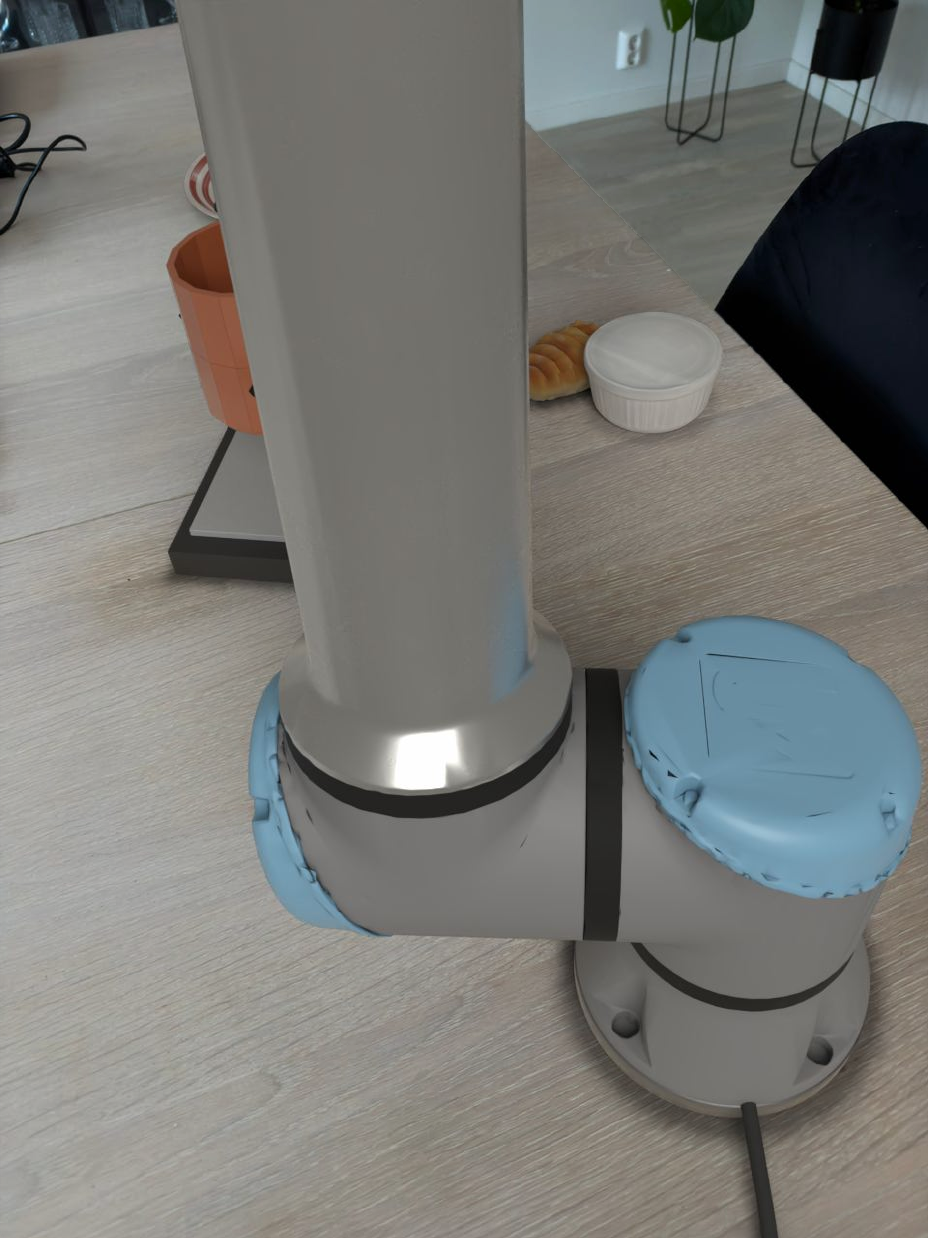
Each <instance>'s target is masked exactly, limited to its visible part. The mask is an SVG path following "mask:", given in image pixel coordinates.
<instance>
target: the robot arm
mask: <svg viewBox="0 0 928 1238" xmlns="http://www.w3.org/2000/svg"><path fill="white" fill-rule="evenodd" d="M173 4H174V7H175V13H176V18H177V22H178V27H179V32H180V33H179V34H180V37H181V42H182V47H183V51H184V56H185V61H186V66H187V71H188V75H189V81H190V86H191V91H192V95H193V99H194V104H195V110H196V115H197V119H198V124H199V128H200V129H199V130H200V134H201V139H202V144H203V149H204V151H205V154H206V159H207V164H208V169H209V173H210V178H211V183H212V188H213V193H214V198H215V203H214V210H215V212H217V213H218V217H219V219H218V221H219V222H220V227H221V232H222V237H223V241H224V246H225V251H226V256H227V261H228V266H229V270H230V275H231V280H232V285H233V290H234V295H235V300H236V304H237V309H238V314H239V319H240V324H241V329H242V334H243V338H244V343H245V348H246V353H247V358H248V363H249V368H250V372H251V377H252V382H253V384H252V386H251V388H250V390H249V392H250V393H251V395H252V396H253V397H255V398H256V402H257V406H258V411H259V416H260V421H261V426H262V431H263V436H264V440H265V445H266V450H267V455H268V460H269V465H270V470H271V474H272V479H273V484H274V489H275V494H276V499H277V504H278V508H279V513H280V518H281V523H282V528H283V533H284V538H285V542H286V547H287V552H288V557H289V562H290V567H291V572H292V576H293V581H294V583H293V586H294V591H295V597H296V600H297V605H298V606H297V607H298V611H299V616H300V620H301V624H302V625H301V626H302V629H303V632H302V634H301V635H300V636H299V637H298V638H297V640H296V641H295V643H294V644H293V646H292V647H291V649H289V650H290V651H289V652H287V655H286V657H285V660H284V662H283V664H282V667H281V670H279V671H278V672H277V673H275V674H274V676H272V678H271V679H270V680H269V682H268V683H267V685H266V687H265V688H264V689H263V692H262V693H261V696H260V699H259V700H258V704H257V706H256V710H255V714H254V718H253V721H252V726H251V733H250V739H249V749H248V761H247V762H248V763H247V764H248V765H247V771H248V772H247V773H248V775H247V776H248V777H247V778H248V795H249V796H250V797H251V798H252V799H253V803H254V813H253V814H254V815H253V817H252V819H251V828H252V834H253V835H252V836H253V840H254V844H255V848H256V853H257V856H258V860H259V862H260V866H261V868H262V871H263V874H264V876H265V879H266V881H267V883H268V885H269V888H270V889H271V891H272V892H273V894H274V896H275V897H276V898H277V900H278V902H279V903H280V904H281V905H282V907H283V908H284V909H285V910H286V911H287V912H288V913H289V914H290V915H291V916H292V917H294V918H295V919H296V920H298V921H300V922H302V923H304V924H306V925H309V926H311V927H314V928H319V929H327V930H337V931H350V932H353V933H355V934H357V935H363V936H367V937H368V938H377V939H378V938H379V939H380V938H383V937H384V938H392V937H393V936H408V937H409V936H410V937H411V936H412V937H413V936H415V937H442V938H443V937H444V938H445V937H447V938H477V939H478V938H481V939H482V938H484V939H513V940H514V939H517V940H518V939H519V940H547V941H548V940H549V941H550V940H551V941H574V947H573V949H574V951H573V952H574V953H573V973H574V984H575V988H576V993H577V997H578V1001H579V1005H580V1007H581V1011H582V1014H583V1015H584V1019H585V1020H586V1022H587V1024H588V1026H589V1029H590V1031H591V1032H592V1034H593V1036H594V1037H595V1039H596V1041H597V1042H598V1044H599V1046H601V1048H602V1049H603V1051H604V1052H605V1053H606V1054H607V1056H608V1057H609V1058H610V1059H611V1060H612V1061H613V1062H614V1064H615V1065H616V1066H617V1067H618V1068H619V1069H620V1070H621V1071H622V1072H623V1073H625V1074H626V1076H628V1077H629V1078H630V1080H632V1081H634V1082H635V1083H636V1084H637V1085H639V1086H640V1087H642V1088H643V1089H644V1090H646V1091H648V1092H649V1093H651V1094H652V1095H654V1096H656V1097H658V1098H660V1099H661V1100H664V1101H665V1102H667V1103H670V1104H672V1105H674V1106H677V1107H680V1108H682V1109H684V1110H688V1111H692V1112H695V1113H698V1114H701V1115H707V1116H713V1117H721V1118H729V1119H730V1118H732V1119H734V1118H736V1119H737V1118H739V1119H740V1118H742V1123H743V1128H744V1129H743V1130H744V1135H745V1140H746V1147H747V1153H748V1159H749V1164H750V1171H751V1176H752V1177H751V1178H752V1183H753V1188H754V1194H755V1201H756V1207H757V1213H758V1220H759V1228H760V1236H761V1238H779V1232H778V1225H777V1219H776V1212H775V1206H774V1201H773V1200H774V1199H773V1194H772V1189H771V1183H770V1182H771V1181H770V1178H769V1171H768V1170H769V1169H768V1166H767V1161H766V1160H767V1158H766V1154H765V1148H764V1142H763V1137H762V1131H761V1125H760V1119H759V1117H762V1116H767V1115H771V1114H775V1113H779V1112H782V1111H784V1110H789V1109H790V1108H793V1107H795V1106H797V1105H799V1104H801V1103H803V1102H805V1101H807V1100H808V1099H811V1098H812V1097H814V1096H815V1095H816V1094H817V1093H818V1092H820V1091H821V1090H822V1089H823V1088H825V1087H826V1086H827V1085H828V1084H829V1083H830V1082H832V1080H833V1079H834V1078H835V1077H836V1076H837V1075H838V1074H839V1072H840V1071H841V1070H842V1069H843V1067H844V1066H845V1064H846V1062H847V1061H848V1059H849V1058H850V1056H851V1055H852V1052H853V1051H854V1049H855V1047H856V1045H857V1043H858V1042H859V1039H860V1036H861V1034H862V1032H863V1030H864V1026H865V1023H866V1020H867V1017H868V1012H869V1008H870V1000H871V968H870V960H869V955H868V950H867V945H866V942H865V938H864V932H865V930H866V927H867V925H868V923H869V921H870V919H871V917H872V915H873V913H874V910H875V909H876V907H877V904H878V902H879V900H880V897H881V895H882V893H883V892H884V889H885V887H886V885H887V882H888V880H889V878H890V877H891V876H892V875H893V873H894V872H895V870H896V869H897V868H898V866H899V865H900V863H902V861H903V859H904V858H905V856H906V855H907V852H908V849H909V847H910V843H911V840H912V839H911V838H912V834H913V833H912V832H913V831H912V830H913V824H914V823H913V822H914V820H913V819H914V816H915V813H916V810H917V807H918V804H919V802H920V798H921V793H922V786H923V785H922V784H923V760H922V752H921V749H920V744H919V740H918V736H917V734H916V731H915V728H914V726H913V723H912V721H911V719H910V717H909V715H908V713H907V711H906V709H905V708H904V706H903V704H902V703H901V702H900V700H899V699H898V697H897V696H896V694H895V693H894V692H893V690H892V689H891V687H890V686H889V685H888V684H887V683H886V682H885V681H884V680H883V679H882V677H881V676H880V675H879V674H877V673H876V671H875V670H874V669H872V668H871V667H869V666H866V665H864V664H861V663H859V662H857V661H856V660H854V659H853V658H851V655H850V652H849V649H847V648H845V647H844V646H843V645H841V644H839V643H837V642H836V641H834V640H832V639H830V638H829V637H826V636H824V635H823V634H820V633H819V632H817V631H813V630H812V629H809V628H807V627H804V626H801V625H798V624H796V623H795V624H794V623H792V622H788V621H784V620H781V619H776V618H771V617H765V616H758V615H747V614H746V615H745V614H731V615H729V614H728V615H721V616H713V617H706V618H702V619H698V620H695V621H692V622H690V623H687V624H685V625H682V626H680V627H679V628H678V630H677V631H676V632H675V634H674V636H673V637H672V638H668V637H665V638H662V639H660V640H658V641H657V642H656V643H655V644H654V645H653V646H652V647H650V649H649V650H648V651H647V652H646V653H645V655H644V657H643V658H642V659H641V661H640V662H639V663H637V665H636V666H637V667H636V668H616V667H615V668H613V667H611V668H610V667H608V668H607V667H605V668H604V667H603V668H602V667H583V668H582V667H572V662H571V657H570V655H569V651H568V650H567V647H566V645H565V642H564V641H563V639H562V637H561V635H560V633H559V631H557V629H556V628H555V627H554V625H553V624H552V623H551V622H550V621H549V619H547V618H546V617H545V616H544V615H543V614H542V613H541V612H540V611H538V610H537V609H535V608H534V605H533V603H534V601H533V598H534V597H533V596H534V595H533V538H532V534H533V533H532V483H531V482H532V477H531V476H532V474H531V473H532V472H531V470H532V469H531V416H530V413H531V411H530V410H531V407H530V406H531V405H530V399H529V349H530V347H529V346H530V345H529V343H530V342H529V285H528V282H529V281H528V225H527V224H528V222H527V221H528V220H527V218H528V217H527V216H528V213H527V161H526V160H527V157H526V156H527V155H526V149H527V148H526V91H525V89H526V87H525V82H526V81H525V30H524V29H525V27H524V26H525V24H524V20H525V19H524V0H173ZM178 317H179V318H180V319H181V315H180V313H179V314H178Z"/></svg>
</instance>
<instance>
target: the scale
mask: <svg viewBox="0 0 928 1238" xmlns="http://www.w3.org/2000/svg"><path fill="white" fill-rule="evenodd" d="M209 463H210V464H209V466H208V468H207V470H205V471H206V472H205V474H204V475H203V478H202V480H201V481H200V483H199V486H198V488H197V489H196V492H195V494H194V496H193V498H192V500H191V503H190V505H189V507H188V509H187V510H186V513H185V515H184V517H183V519H182V521H181V523H180V525H179V527H178V529H177V531H176V534H175V536H174V538H173V540H172V542H171V544H170V546H169V548H168V549H167V555H169V556H168V557H169V559H170V562H171V564H172V568H173V570H174V573H175V575H182V576H192V577H193V576H194V577H206V578H207V577H209V578H218V579H219V578H222V579H234V580H245V581H259V582H260V581H261V582H272V583H285V584H294V581H293V576H292V572H291V567H290V562H289V557H288V552H287V547H286V542H285V538H284V533H283V528H282V523H281V518H280V513H279V508H278V504H277V499H276V494H275V489H274V484H273V479H272V474H271V470H270V465H269V460H268V455H267V450H266V445H265V440H264V436H261V435H252V434H247V433H243V432H240V431H237V430H234V429H232V428H230V427H229V426H227V428H226V430H225V432H224V435H223V436H222V439H221V441H220V443H219V445H218V447H217V449H216V451H215V453H214V455H213V457H212V459H211V461H210V462H209Z"/></svg>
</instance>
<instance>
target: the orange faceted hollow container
mask: <svg viewBox="0 0 928 1238" xmlns="http://www.w3.org/2000/svg"><path fill="white" fill-rule="evenodd" d="M165 268H166V270H167V271H166V272H167V275H168V277H169V280H170V284H171V287H172V291H173V294H174V298H175V301H176V304H177V309H178V311H179V314H180V315H181V318H180V319H181V321H182V325H183V329H184V332H185V336H186V339H187V342H188V346H189V349H190V352H191V356H192V360H193V363H194V367H195V370H196V373H197V376H198V380H199V384H200V386H201V387H200V388H201V390H202V394H203V397H204V400H205V402H206V404H207V405H206V406H207V408H208V411H209V413H210V414H211V416H213V417H214V418H216V419H217V420H218V421H220V422H222V424H224V425H225V426H227V427H228V426H229V427H230V428H232V429H234V430H237V431H240V432H243V433H247V434H252V435H261V436H263V431H262V426H261V421H260V416H259V411H258V406H257V402H256V398H255V397H253V396H252V395H251V393H250V392H249V390H250V388H251V386H252V384H253V382H252V377H251V372H250V368H249V363H248V358H247V353H246V348H245V343H244V338H243V334H242V329H241V324H240V319H239V314H238V309H237V304H236V300H235V295H234V290H233V285H232V280H231V275H230V270H229V266H228V261H227V256H226V251H225V246H224V241H223V237H222V232H221V227H220V222H219V220H215V221H213V222H210V223H208V224H207V225H204V226H202V227H200V228H198V229H196V230H193V231H191V232H190V233H187V235H186V236H185V237H183V239H181V240H180V241H179V242H178V243H177V244H176V245H175V246H173V248H172V249H171V251H170V254H169V256H168V259H167V262H166V265H165Z"/></svg>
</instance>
